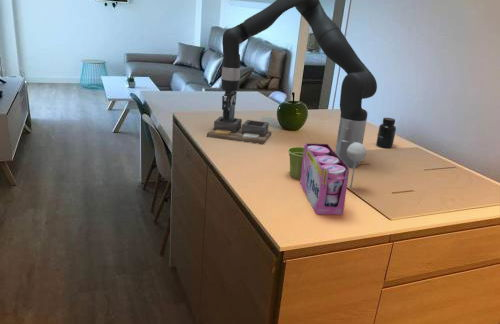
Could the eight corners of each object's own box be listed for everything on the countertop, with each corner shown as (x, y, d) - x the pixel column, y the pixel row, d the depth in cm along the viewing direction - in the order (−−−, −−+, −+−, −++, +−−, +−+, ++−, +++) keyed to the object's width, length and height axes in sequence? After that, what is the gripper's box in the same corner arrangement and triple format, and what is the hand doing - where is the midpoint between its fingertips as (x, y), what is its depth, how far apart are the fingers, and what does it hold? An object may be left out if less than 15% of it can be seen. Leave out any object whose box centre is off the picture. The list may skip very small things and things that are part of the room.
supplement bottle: (374, 146, 188) (379, 118, 184) (377, 142, 194) (382, 115, 190) (390, 149, 186) (396, 121, 182) (393, 145, 191) (399, 118, 187)
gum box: (345, 217, 122) (352, 171, 118) (317, 217, 121) (323, 170, 117) (323, 183, 144) (328, 143, 140) (299, 183, 144) (303, 142, 139)
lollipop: (347, 182, 146) (353, 139, 141) (363, 188, 143) (371, 143, 138) (337, 187, 142) (344, 142, 137) (354, 193, 138) (362, 147, 133)
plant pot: (315, 173, 153) (318, 149, 150) (311, 183, 144) (314, 157, 141) (288, 169, 155) (290, 145, 152) (282, 178, 146) (285, 153, 143)
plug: (231, 130, 190) (232, 105, 186) (222, 129, 190) (223, 104, 187) (233, 128, 193) (235, 103, 190) (224, 127, 194) (225, 102, 190)
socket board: (263, 144, 180) (265, 131, 178) (206, 136, 184) (207, 123, 182) (271, 134, 194) (272, 122, 192) (218, 127, 199) (218, 115, 197)
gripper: (234, 81, 177) (232, 122, 183) (243, 76, 190) (241, 115, 196) (216, 79, 178) (214, 120, 184) (226, 75, 192) (224, 113, 197)
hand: (228, 117), depth 190 cm, fingers open, 6 cm apart
